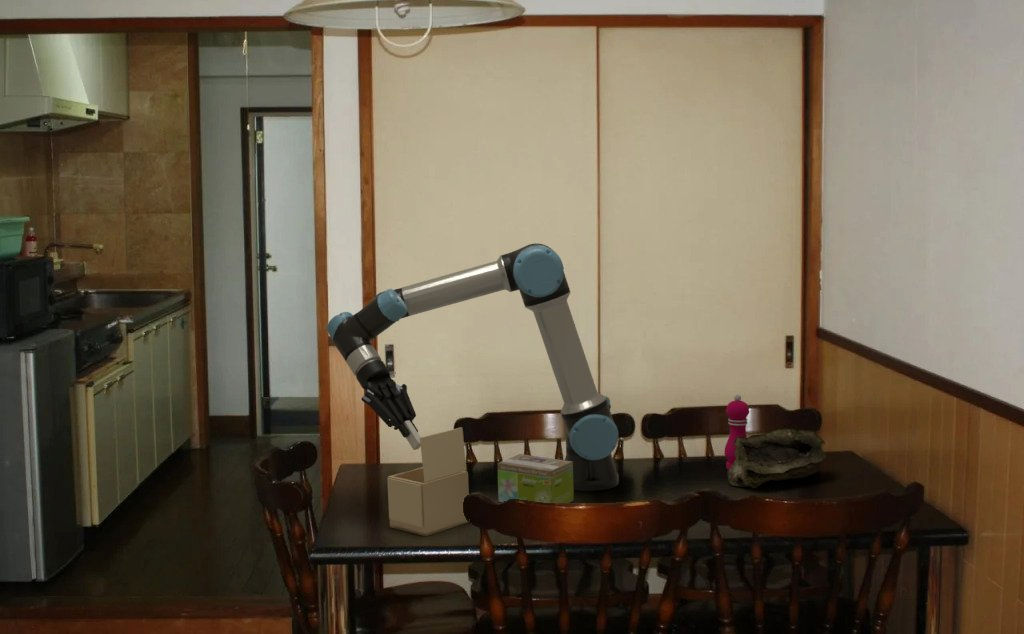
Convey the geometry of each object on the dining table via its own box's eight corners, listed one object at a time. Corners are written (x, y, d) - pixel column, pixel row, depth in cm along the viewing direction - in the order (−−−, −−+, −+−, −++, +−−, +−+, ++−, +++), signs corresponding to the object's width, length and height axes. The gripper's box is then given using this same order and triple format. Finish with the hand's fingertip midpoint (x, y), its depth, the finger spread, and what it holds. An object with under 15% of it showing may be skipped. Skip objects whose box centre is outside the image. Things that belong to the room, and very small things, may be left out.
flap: (465, 470, 280) (461, 427, 280) (466, 470, 280) (462, 427, 280) (424, 481, 271) (419, 437, 270) (425, 481, 271) (421, 437, 270)
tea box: (497, 524, 280) (495, 461, 278) (521, 513, 288) (519, 452, 286) (552, 533, 272) (551, 469, 270) (575, 521, 280) (574, 459, 278)
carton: (434, 512, 291) (432, 463, 290) (471, 521, 283) (469, 471, 281) (386, 527, 280) (384, 476, 279) (423, 537, 272) (421, 485, 270)
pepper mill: (756, 470, 321) (756, 396, 319) (731, 472, 320) (730, 398, 317) (744, 464, 328) (744, 391, 326) (720, 466, 326) (719, 393, 324)
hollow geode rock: (820, 492, 316) (798, 443, 324) (843, 466, 306) (819, 417, 315) (726, 502, 306) (706, 451, 314) (746, 476, 296) (725, 425, 305)
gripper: (382, 374, 296) (431, 450, 287) (340, 382, 287) (390, 461, 278) (396, 354, 292) (446, 431, 283) (354, 362, 283) (404, 441, 273)
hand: (418, 446), depth 280 cm, fingers closed
